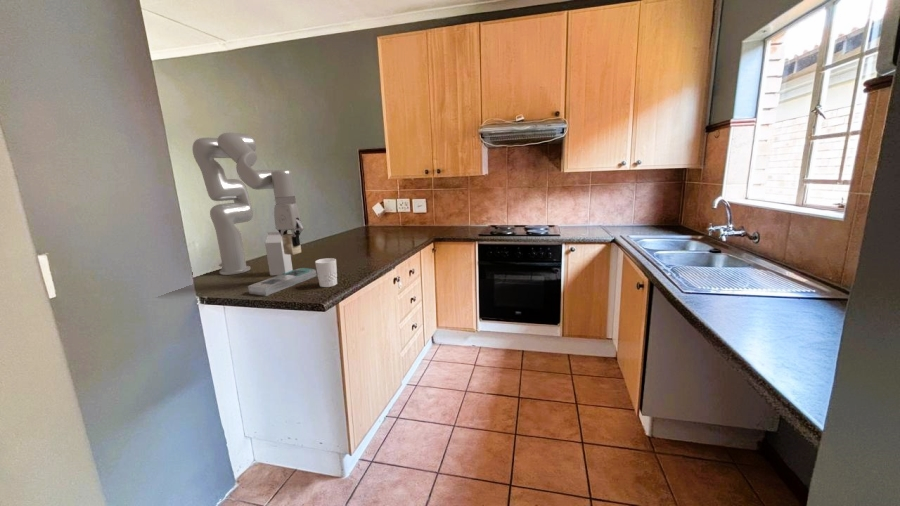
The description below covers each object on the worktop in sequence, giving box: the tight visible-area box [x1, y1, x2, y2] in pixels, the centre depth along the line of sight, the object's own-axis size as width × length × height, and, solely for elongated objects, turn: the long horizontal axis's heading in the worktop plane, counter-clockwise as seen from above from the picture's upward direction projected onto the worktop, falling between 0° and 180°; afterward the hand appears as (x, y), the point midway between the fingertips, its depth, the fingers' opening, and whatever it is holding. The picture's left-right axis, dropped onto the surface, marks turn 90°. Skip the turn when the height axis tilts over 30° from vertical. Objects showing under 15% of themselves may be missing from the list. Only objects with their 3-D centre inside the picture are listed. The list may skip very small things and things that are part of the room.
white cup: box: [314, 257, 338, 288], centre depth 144 cm, size 8×8×10 cm
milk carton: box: [264, 231, 294, 276], centre depth 162 cm, size 7×7×19 cm
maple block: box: [282, 232, 302, 256], centre depth 149 cm, size 5×5×8 cm
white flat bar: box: [247, 267, 318, 297], centre depth 147 cm, size 26×9×3 cm, turn 157°
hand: (291, 245), depth 149 cm, fingers closed on maple block, 4 cm apart
